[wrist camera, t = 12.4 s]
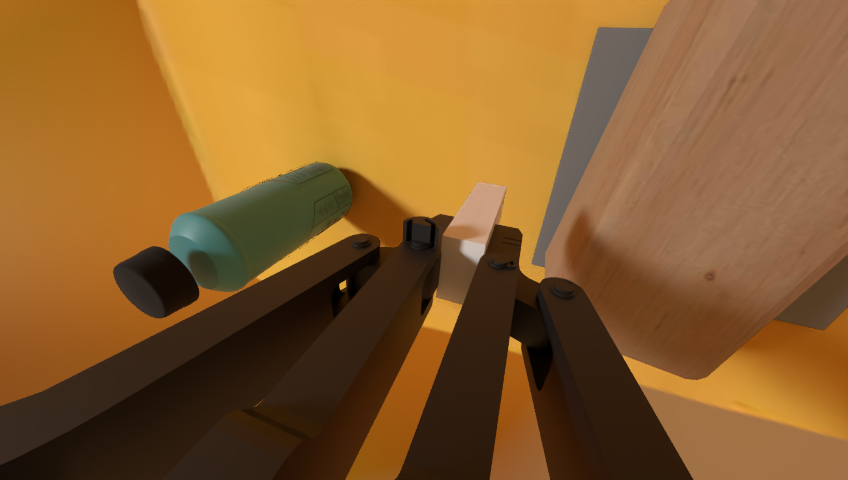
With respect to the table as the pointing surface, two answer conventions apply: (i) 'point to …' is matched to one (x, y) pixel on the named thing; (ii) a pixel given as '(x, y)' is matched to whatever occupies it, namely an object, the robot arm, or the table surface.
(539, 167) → the table surface
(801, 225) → the wooden block
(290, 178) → the beverage bottle
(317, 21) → the table surface
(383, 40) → the table surface
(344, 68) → the table surface
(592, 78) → the mat
